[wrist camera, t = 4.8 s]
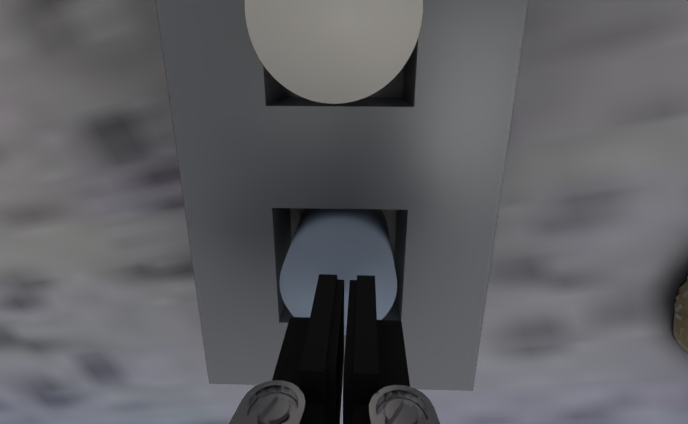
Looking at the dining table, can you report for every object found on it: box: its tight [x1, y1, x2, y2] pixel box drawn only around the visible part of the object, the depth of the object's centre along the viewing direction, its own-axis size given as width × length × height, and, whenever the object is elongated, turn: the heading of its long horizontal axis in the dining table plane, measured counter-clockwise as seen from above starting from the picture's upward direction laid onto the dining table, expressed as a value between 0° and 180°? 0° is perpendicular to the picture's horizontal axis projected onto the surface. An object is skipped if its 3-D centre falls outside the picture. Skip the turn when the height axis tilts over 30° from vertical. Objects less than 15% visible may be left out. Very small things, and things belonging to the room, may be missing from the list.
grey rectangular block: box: [156, 0, 528, 391], centre depth 16 cm, size 30×12×5 cm, turn 0°
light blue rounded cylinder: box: [280, 208, 397, 335], centre depth 17 cm, size 4×4×5 cm
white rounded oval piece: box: [245, 0, 423, 104], centre depth 12 cm, size 4×4×5 cm
